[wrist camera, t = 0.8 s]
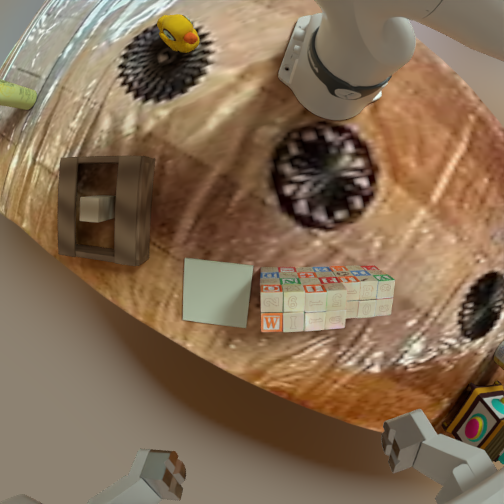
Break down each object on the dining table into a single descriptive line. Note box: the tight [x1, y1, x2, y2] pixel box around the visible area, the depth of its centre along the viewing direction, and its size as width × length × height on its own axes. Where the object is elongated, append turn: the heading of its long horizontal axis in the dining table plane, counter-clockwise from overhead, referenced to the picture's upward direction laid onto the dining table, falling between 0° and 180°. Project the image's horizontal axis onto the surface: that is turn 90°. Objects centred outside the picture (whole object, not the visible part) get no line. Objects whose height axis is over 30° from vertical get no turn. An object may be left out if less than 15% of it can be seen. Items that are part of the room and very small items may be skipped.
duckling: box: [157, 14, 199, 53], centre depth 36 cm, size 11×5×10 cm, turn 42°
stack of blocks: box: [260, 266, 395, 332], centre depth 44 cm, size 21×6×12 cm, turn 91°
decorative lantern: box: [442, 381, 504, 464], centre depth 44 cm, size 20×20×30 cm
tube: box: [0, 80, 37, 110], centre depth 33 cm, size 6×5×20 cm
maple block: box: [80, 195, 116, 222], centre depth 45 cm, size 4×4×7 cm
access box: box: [58, 156, 155, 266], centre depth 45 cm, size 18×18×5 cm
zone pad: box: [183, 258, 253, 328], centre depth 51 cm, size 12×12×1 cm
